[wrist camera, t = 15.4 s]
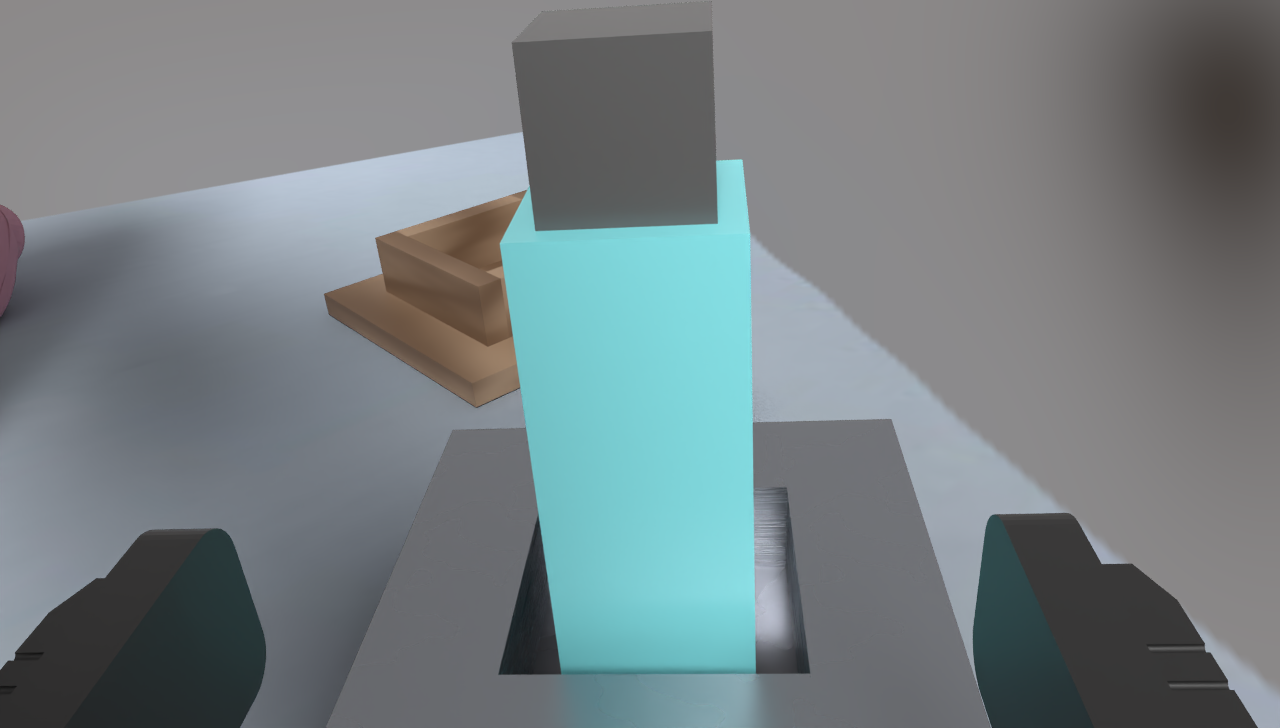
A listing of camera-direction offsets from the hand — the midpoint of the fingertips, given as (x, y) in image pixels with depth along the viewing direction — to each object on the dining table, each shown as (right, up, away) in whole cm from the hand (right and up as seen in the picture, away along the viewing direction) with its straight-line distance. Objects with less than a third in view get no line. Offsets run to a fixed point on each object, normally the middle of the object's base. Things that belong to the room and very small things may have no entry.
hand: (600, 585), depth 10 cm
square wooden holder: (-5, +5, +32) cm, 33 cm away
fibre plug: (+1, -4, +12) cm, 13 cm away
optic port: (+1, -5, +12) cm, 14 cm away
